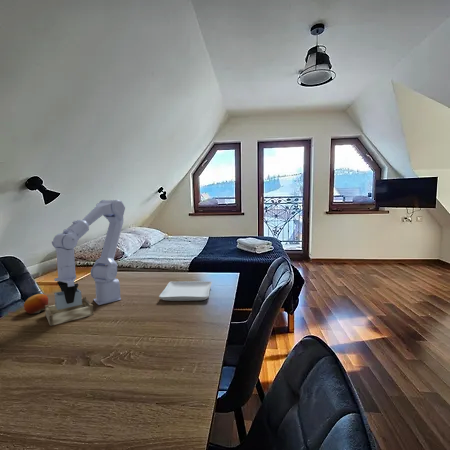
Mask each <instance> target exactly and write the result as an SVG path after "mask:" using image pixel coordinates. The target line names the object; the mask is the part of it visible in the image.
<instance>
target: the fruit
mask: <svg viewBox="0 0 450 450" xmlns="http://www.w3.org/2000/svg"><path fill="white" fill-rule="evenodd" d="M46 305H48V306H49V297H48V295H46V294H44V293H37V294H34V295H31V296H30V297H28V298H27V299H26V300H25V301H24V303H23V309H24V311H25V312H26V313H28V314H29V315H32V314H33V315H34V314H40V312H42V311H44V310H45V306H46Z"/></svg>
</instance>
